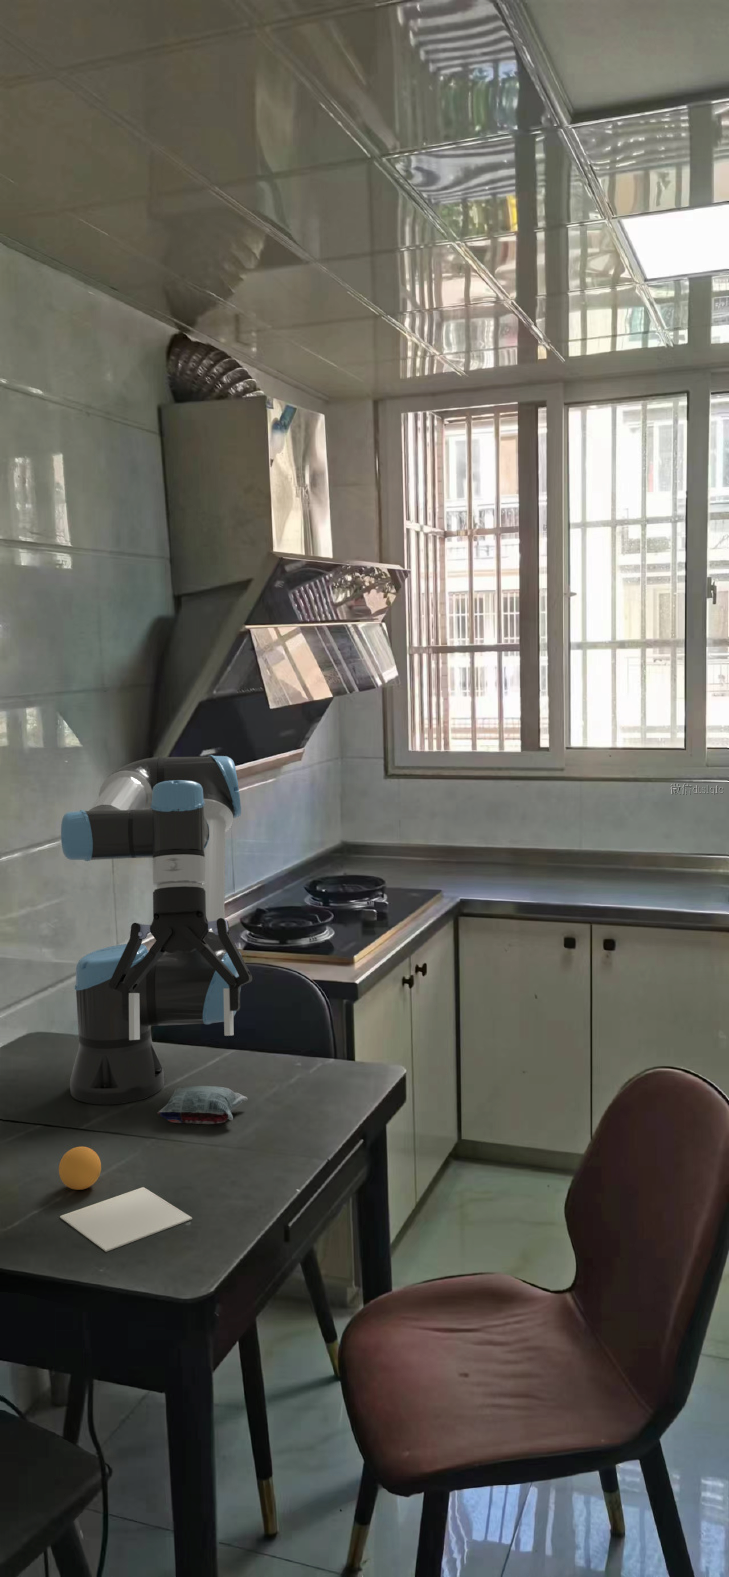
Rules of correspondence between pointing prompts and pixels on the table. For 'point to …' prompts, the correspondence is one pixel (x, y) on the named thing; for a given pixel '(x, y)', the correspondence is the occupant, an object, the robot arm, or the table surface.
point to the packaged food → (201, 1105)
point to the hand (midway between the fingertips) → (181, 1037)
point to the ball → (79, 1168)
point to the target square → (125, 1218)
